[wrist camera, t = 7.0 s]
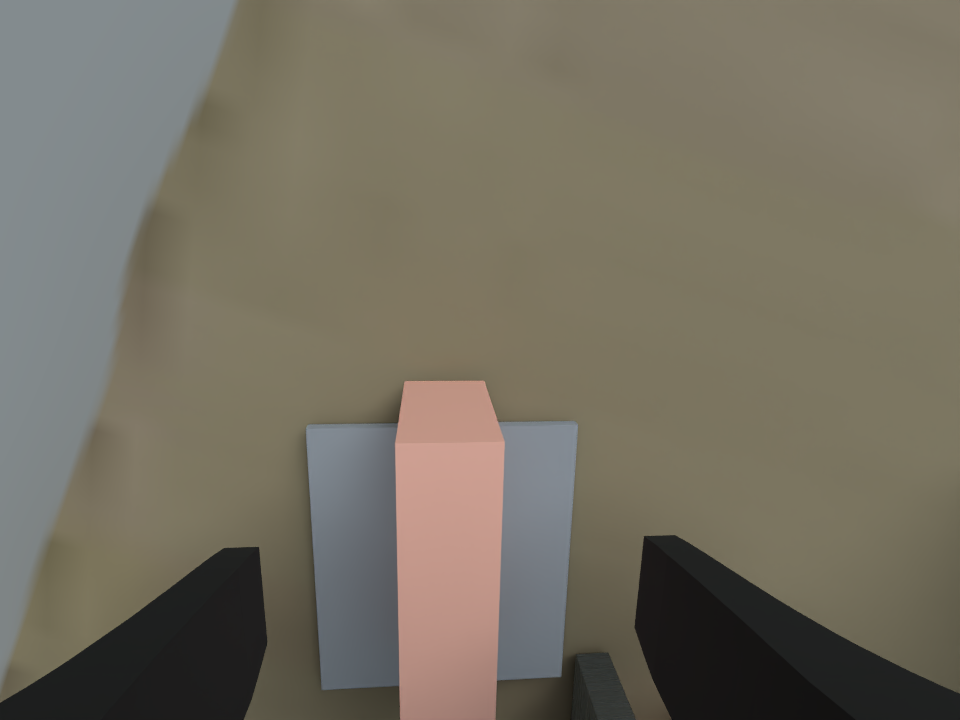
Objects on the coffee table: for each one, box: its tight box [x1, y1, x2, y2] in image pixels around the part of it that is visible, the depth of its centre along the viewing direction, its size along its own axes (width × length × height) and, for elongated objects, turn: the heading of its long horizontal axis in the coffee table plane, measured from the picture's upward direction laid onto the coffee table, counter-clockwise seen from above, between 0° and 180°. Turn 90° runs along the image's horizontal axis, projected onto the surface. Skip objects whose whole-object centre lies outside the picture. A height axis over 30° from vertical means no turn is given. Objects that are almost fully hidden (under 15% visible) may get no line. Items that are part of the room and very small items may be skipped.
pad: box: [306, 421, 578, 690], centre depth 15 cm, size 7×8×1 cm
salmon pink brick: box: [395, 381, 505, 720], centre depth 13 cm, size 2×8×4 cm, turn 179°
